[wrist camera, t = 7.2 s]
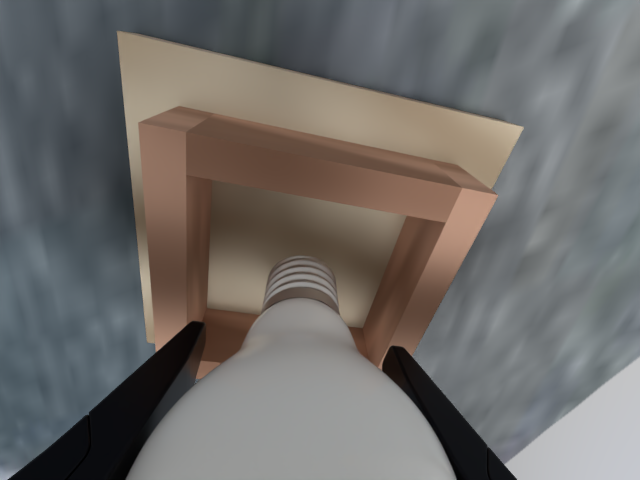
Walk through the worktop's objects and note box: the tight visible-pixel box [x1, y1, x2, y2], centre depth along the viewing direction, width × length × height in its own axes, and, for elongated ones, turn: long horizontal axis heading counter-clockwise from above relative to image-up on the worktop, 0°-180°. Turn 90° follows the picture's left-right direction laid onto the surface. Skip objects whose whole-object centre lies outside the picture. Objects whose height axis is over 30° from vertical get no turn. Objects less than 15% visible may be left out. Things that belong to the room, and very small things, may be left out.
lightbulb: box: [125, 255, 457, 480], centre depth 8 cm, size 6×6×11 cm
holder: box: [117, 31, 524, 379], centre depth 13 cm, size 14×14×4 cm
